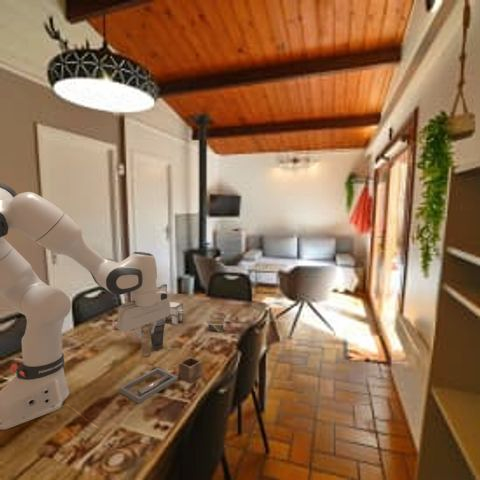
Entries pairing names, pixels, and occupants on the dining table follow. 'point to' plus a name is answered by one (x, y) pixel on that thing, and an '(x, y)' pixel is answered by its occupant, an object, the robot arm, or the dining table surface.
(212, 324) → the platform
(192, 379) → the pen pot
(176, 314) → the toy llama
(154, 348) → the beverage cup
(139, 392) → the metal rod
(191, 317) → the dining table surface
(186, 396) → the dining table surface
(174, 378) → the tray
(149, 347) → the dowel
